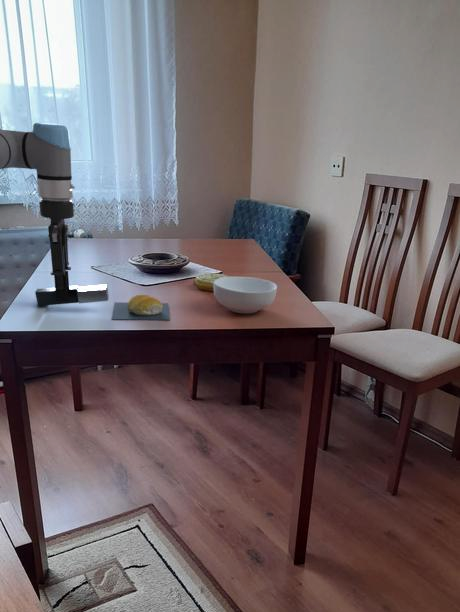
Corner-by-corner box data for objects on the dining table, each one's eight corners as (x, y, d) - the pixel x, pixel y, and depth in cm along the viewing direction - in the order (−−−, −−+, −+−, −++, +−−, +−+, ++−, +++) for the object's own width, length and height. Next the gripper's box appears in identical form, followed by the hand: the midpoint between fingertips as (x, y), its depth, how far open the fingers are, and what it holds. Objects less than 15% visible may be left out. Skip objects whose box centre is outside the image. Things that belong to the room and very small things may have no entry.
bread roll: (147, 304, 147) (147, 289, 145) (167, 313, 141) (167, 297, 139) (120, 309, 142) (120, 293, 140) (140, 318, 136) (139, 302, 134)
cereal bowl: (284, 318, 143) (286, 291, 140) (222, 320, 139) (223, 292, 135) (262, 299, 157) (264, 274, 154) (205, 301, 153) (206, 275, 150)
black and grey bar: (37, 306, 136) (34, 292, 134) (40, 301, 139) (37, 288, 138) (107, 301, 137) (105, 287, 135) (108, 296, 141) (106, 282, 139)
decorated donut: (234, 293, 162) (234, 280, 160) (197, 292, 160) (198, 279, 158) (227, 283, 171) (228, 271, 169) (193, 283, 169) (193, 270, 167)
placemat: (112, 319, 134) (112, 319, 134) (115, 303, 147) (115, 302, 147) (169, 320, 136) (169, 319, 136) (168, 303, 149) (168, 303, 149)
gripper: (68, 204, 120) (74, 309, 131) (76, 195, 134) (81, 290, 145) (32, 202, 119) (42, 308, 130) (44, 193, 133) (52, 289, 144)
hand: (63, 298), depth 138 cm, fingers closed on black and grey bar, 3 cm apart
